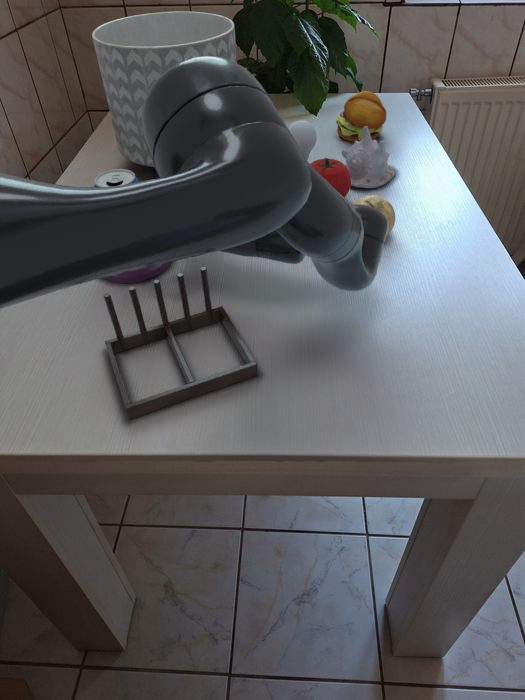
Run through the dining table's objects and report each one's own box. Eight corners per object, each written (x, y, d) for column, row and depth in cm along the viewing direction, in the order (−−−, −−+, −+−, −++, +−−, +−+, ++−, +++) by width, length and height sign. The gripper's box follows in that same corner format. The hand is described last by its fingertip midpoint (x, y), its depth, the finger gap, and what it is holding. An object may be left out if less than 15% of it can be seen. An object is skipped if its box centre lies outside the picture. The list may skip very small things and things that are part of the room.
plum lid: (104, 291, 74) (101, 282, 72) (90, 250, 81) (87, 241, 80) (181, 270, 77) (180, 260, 75) (161, 232, 85) (159, 223, 83)
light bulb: (293, 164, 102) (294, 113, 94) (319, 170, 99) (322, 118, 92) (279, 176, 98) (279, 124, 91) (306, 182, 96) (308, 129, 89)
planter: (228, 190, 94) (217, 48, 78) (104, 184, 98) (67, 46, 81) (251, 137, 112) (246, 11, 95) (145, 133, 115) (121, 11, 98)
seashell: (326, 177, 97) (329, 128, 90) (366, 158, 102) (372, 111, 96) (366, 195, 92) (373, 144, 85) (406, 174, 97) (415, 125, 90)
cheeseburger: (366, 122, 116) (377, 79, 107) (387, 150, 111) (401, 107, 102) (327, 128, 113) (335, 85, 105) (347, 157, 108) (358, 115, 100)
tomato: (324, 218, 86) (327, 174, 80) (290, 200, 91) (291, 157, 85) (359, 201, 90) (364, 158, 84) (325, 184, 95) (327, 143, 89)
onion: (334, 235, 82) (337, 195, 77) (363, 216, 86) (368, 178, 81) (373, 253, 78) (379, 213, 73) (402, 233, 82) (410, 193, 77)
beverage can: (110, 264, 75) (88, 190, 67) (114, 241, 80) (94, 169, 71) (152, 260, 76) (136, 187, 67) (154, 237, 80) (139, 165, 72)
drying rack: (129, 419, 57) (109, 365, 50) (108, 351, 65) (89, 297, 58) (258, 375, 61) (255, 320, 54) (223, 316, 69) (217, 262, 62)
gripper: (253, 175, 69) (152, 159, 74) (207, 227, 60) (95, 205, 64) (256, 223, 74) (161, 206, 79) (214, 278, 65) (110, 254, 70)
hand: (132, 205), depth 72 cm, fingers open, 8 cm apart
